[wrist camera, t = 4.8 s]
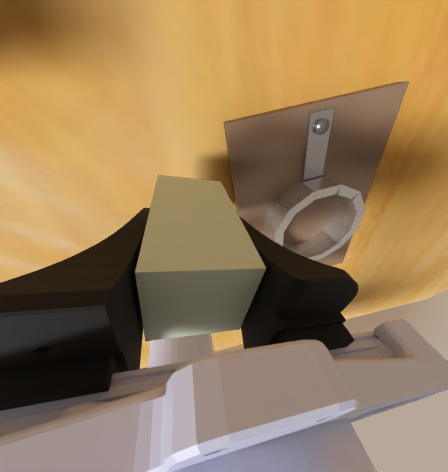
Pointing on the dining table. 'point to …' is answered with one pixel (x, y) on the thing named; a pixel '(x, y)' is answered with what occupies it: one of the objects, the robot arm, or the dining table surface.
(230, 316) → the sage peg
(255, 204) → the cup bracket
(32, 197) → the dining table surface
